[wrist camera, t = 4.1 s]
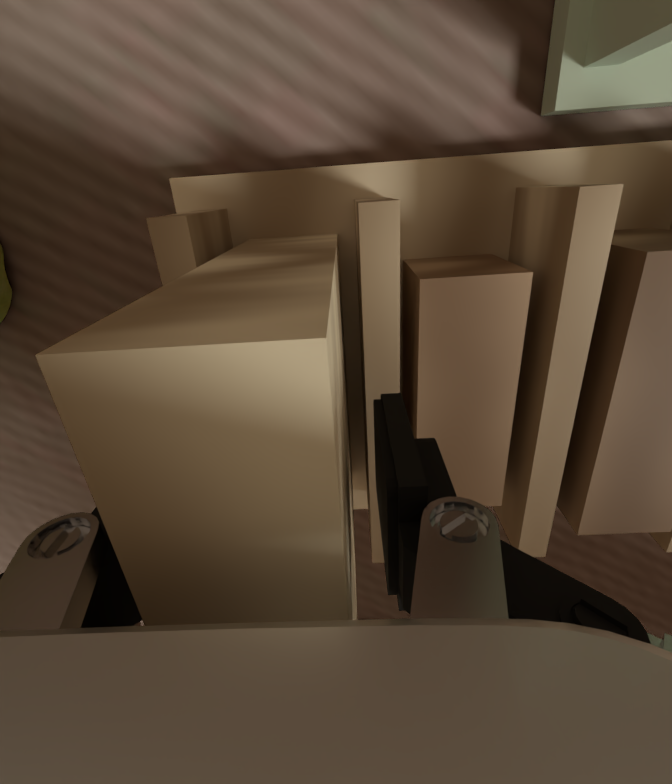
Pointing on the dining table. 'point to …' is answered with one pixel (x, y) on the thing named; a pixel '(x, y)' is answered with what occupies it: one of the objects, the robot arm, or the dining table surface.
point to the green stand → (608, 56)
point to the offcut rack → (444, 239)
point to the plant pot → (4, 288)
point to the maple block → (222, 437)
